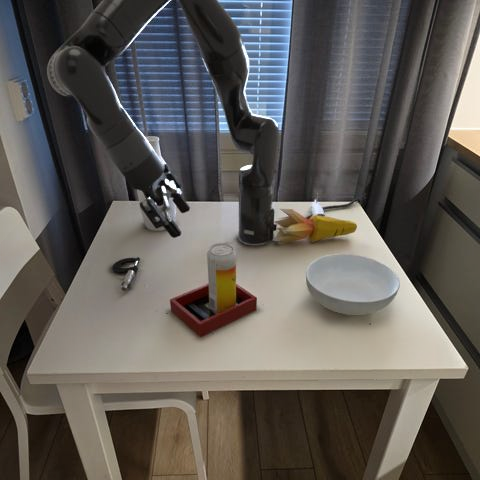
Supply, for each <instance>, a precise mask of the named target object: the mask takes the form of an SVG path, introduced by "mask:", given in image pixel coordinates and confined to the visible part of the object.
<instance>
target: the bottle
mask: <svg viewBox="0 0 480 480" xmlns="http://www.w3.org/2000/svg"><path fill="white" fill-rule="evenodd" d="M145 138H146V139H147V141H148V142H149V143H150V145H151V146H152V148H153V149H154V151H155V152H156V154H157V155H158V157H159V158H160V160H161V161H162V163H163V164H167V163H166V161H165V160H164V158H163V157H162V154H161V148H160V147H161V146H160V137H159V136H154V135H149V136H145ZM170 182H171V183H173V184H175V182H174V181H173V180H172V181H170ZM136 193H137V198H138V203H139V205H140V203H141V202H143V201H144V200H145V199H146V198H145V196H144V194H143V192H142V191H141V190H136ZM172 200H173V198H170V197H169V201H168V202H169V206H170V209H169V213H170V216H171V219H172V220H173V221H174V222H175V223H176V218H177V206H176V205H175V203H174V202H173V201H172ZM156 206H157V205H156ZM157 207H158V208H161V207H163V205H162V206H157ZM139 209H140V213H141V216H142V219H143V222H144V226H145V227H146V228H147V230H150V231H153V232H163V231H166V229H165V228H164V227H163V226H162V227H160V228H157V229H156V228H155V227H154V225H153V224H152V223H151V221H150V220H149V218H148V217H147V216H146V214H145V213H144V211H143V210H142V209H141V207H140V206H139ZM162 214H163V216H164V217H165V214H164V212H162ZM155 219H156V220H157V217H155ZM157 221H158V220H157Z"/></svg>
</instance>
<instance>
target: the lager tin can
mask: <svg viewBox="0 0 480 480" xmlns="http://www.w3.org/2000/svg"><path fill="white" fill-rule="evenodd" d="M206 257H207V260H206V261H207V279H208V281H207V282H208V283H209V304H208V305H209V308H210V310H212V311H213V312H214V313H216V314H218V313H220V312H222V311H224V310H226V309H228V308H231V307H233V306H235V305H237V303H236V284H237V253H236V250H235V248H234V246H233V245H232V244H230V243H225V242H224V243H223V242H220V243H214V244H212V245H211V246H209V247H208V250H207V253H206ZM208 283H207V284H208Z"/></svg>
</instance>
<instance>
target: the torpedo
mask: <svg viewBox="0 0 480 480" xmlns="http://www.w3.org/2000/svg"><path fill="white" fill-rule="evenodd" d="M318 194H319V193H316V198H319V197H318V196H319V195H318ZM322 207H323V204H322V203H321V202H318V201H317V199H314V201H313V202H312V201H311V205H310V206H308V208H310V212H311V214H313V216H314V215H319V216H325V217H326V214H325V210H323V208H322Z"/></svg>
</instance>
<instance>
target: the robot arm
mask: <svg viewBox="0 0 480 480" xmlns="http://www.w3.org/2000/svg"><path fill="white" fill-rule="evenodd" d="M170 1H171V0H101V1H100V3H99V4H98V5H96V8H94V9H93V11H92V12H91V13H90V15H89V16H88V17H87V18H86V20H85V21H84V23H83V24H82V25H81V27H79V29H78V30H76V32H74V33H73V34H72V35H71V36H70V37H69V38H68V39H67V40H66V41H65V42H64V43H63V44H62V45H61V46H59V48H58V49H57V50H56V51H55V52H54V53H53V54H52V56H51V57H50V58H49V61H48V63H47V66H46V67H47V68H46V74H47V78H48V81H49V83H50V85H51V87H52V88H53V90H54V91H56V92H57V93H58V94H59V95H62V96H63V97H66V98H74V99H75V101H77V103H78V104H79V106H80V107H81V109H82V111H83V112H84V113H85V115H86V123H87V126H88V128H89V130H90V131H91V132H92V134H93V135H94V136H95V137H96V139H97V140H98V142H99V143H100V144H101V146H102V147H103V148H104V150H105V151H106V153H107V154H108V156H109V158H110V159H111V161H112V162H113V164H114V165H115V166H116V168H117V169H118V170H119V171H120V173H121V174H122V176H123V177H124V178H125V180H126V181H127V182H128V183H129V185H130V186H131V187H132V188H133V189H134V190H136V191H137V190H141V191H142V192H143V194H144V196H145V198H146V199H145V200H144V201H143V202H141V203H140V204H139V208H140V207H141V209H142V210H143V211H144V213H145V214H146V216H147V217H148V218H149V220H150V221H151V223H152V224H153V225H154V227H155V228H156V229H157V228H160V227H162V226H163V227H164V228H165V229H166V230H165V231H166V232H167V234H168V235H169V236H170V237H171V238H173V239H175V238H178V237H180V236H181V235H182V230H181V229H180V227H179V226H178V225H177V224H176V221H175V222H174V221H173V220H172V219H171V216H170V213H169V209H170V206H169V202H168V201H169V197H170V198H173V200H172V201H173V202H174V203H175V205H176V209H178V210H179V212H180V213H181V214H185V213H188V212H190V209H191V207H190V205H189V204H188V202H187V200H186V199H185V198H184V197H183V195H182V194H183V192H182V190H181V188H182V187H183V184H182V182H181V180H179V178H178V177H177V175H176V174H175V173H174V171H173V170H172V168H171V167H170V166H169V164H168V163H166V164H163V163H162V161H161V160H160V158H159V157H158V155H157V154H156V152H155V151H154V149H153V148H152V146H151V145H150V143H149V142H148V141H147V139H146V138H145V137H146V136H145V135H144V134H143V132H142V131H141V130H140V129H139V128H138V127H137V125H136V124H135V122H134V121H133V119H132V118H131V117H130V115H129V114H128V112H127V111H126V109H125V108H124V107H123V105H122V104H121V102H120V100H119V98H118V94H117V93H116V90H115V88H114V86H113V84H112V82H111V80H110V78H109V76H108V73H107V71H106V70H105V68H106V67H107V66H108V65H109V64H110V63H112V62H113V61H115V60H117V59H118V58H120V56H121V55H122V54H124V52H125V51H126V50H127V49H128V48H129V47H130V45H131V44H132V43H133V41H135V40H136V38H137V36H138V35H139V34H140V33H141V32H142V31H143V30H144V29H145V27H146V26H147V25H148V23H150V22H151V20H152V19H153V18H154V17H155V16H156V15H157V14H158V13H159V12H160V11H161V10H162V9H163V8H164V7H165V6H167V4H169V2H170ZM177 2H178V4H179V6H180V8H181V10H182V12H183V15H184V17H185V20H186V22H187V24H188V26H189V28H190V31H191V33H192V36H193V38H194V40H195V42H196V43H195V44H196V46H197V49H198V51H199V52H200V56H201V58H202V61H203V64H204V66H205V68H206V72H207V73H208V75H209V77H210V79H211V82H212V85H213V87H214V89H215V92H216V95H217V97H218V100H219V102H220V105H221V108H222V112H223V114H224V117H225V121H226V125H227V128H228V131H229V134H230V137H231V140H232V143H233V145H234V147H235V148H236V149H237V150H239V151H240V152H242V153H244V154H249V155H251V156H252V164H248V165H245V166H243V167H241V168H240V169H239V171H238V231H237V232H238V237H237V239H238V242H240V243H241V244H242V245H246V246H248V247H249V246H250V247H262V246H266V245H267V244H269V243H271V242H273V241H274V240H273V239H274V232H276V231H277V230H278V229H277V228H278V225H275V224H274V221H275V212H276V211H275V208H273V197H274V196H273V195H274V177H275V173H276V172H277V171H276V170H277V166H278V158H279V157H278V156H279V148H280V127H279V124H278V122H277V121H276V120H275V119H273V118H271V117H267V116H262V115H258V114H254V113H253V112H252V110H251V108H250V105H249V103H248V100H247V97H246V87H247V83H248V78H249V74H250V73H249V72H250V60H249V56H248V52H247V49H246V46H245V43H244V40H243V37H242V34H241V32H240V29H239V28H238V26H237V24H236V22H235V21H234V20H233V19H232V17H231V16H230V14H229V13H228V12H227V10H226V9H225V8H224V7H223V6H222V4H221V3H220V2H219V0H177ZM172 180H173V181H174V184H173V183H171V182H170V181H172ZM356 202H357V203H361V202H362V199H360V198H358V197H357V198H354V199H352V200H351V201H349V202H348V203H345V204H337V205H327V206H322V208H323V211H325V210H330V209H341V208H347V207H350V206H352V205H353V204H355V203H356ZM156 205H157V206H162V205H163V207H161V208H158V207H157V206H156ZM141 209H140V210H141ZM162 212H164V214H165V217H164V216H163V214H162ZM311 216H313V214H312V213H311V214H309V215H308V216H305V218H306V219H308V220H309V219H310V217H311ZM155 217H157V220H158V221H157V220H156V219H155Z"/></svg>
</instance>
